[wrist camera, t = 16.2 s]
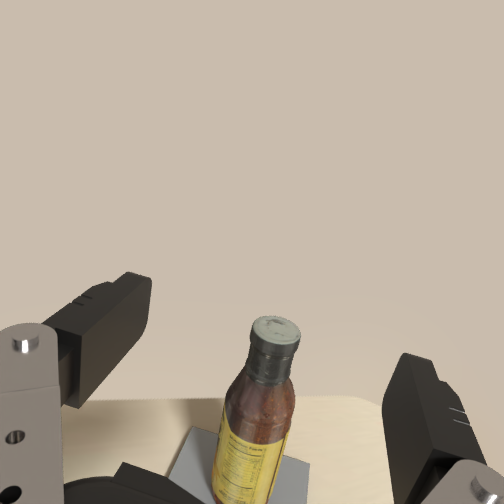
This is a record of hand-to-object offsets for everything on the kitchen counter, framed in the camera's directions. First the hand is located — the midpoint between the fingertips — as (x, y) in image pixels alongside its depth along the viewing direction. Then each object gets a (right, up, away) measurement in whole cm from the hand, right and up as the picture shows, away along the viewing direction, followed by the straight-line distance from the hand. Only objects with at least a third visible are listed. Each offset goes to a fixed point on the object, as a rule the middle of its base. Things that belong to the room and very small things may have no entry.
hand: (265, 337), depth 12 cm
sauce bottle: (-2, -22, +27) cm, 35 cm away
